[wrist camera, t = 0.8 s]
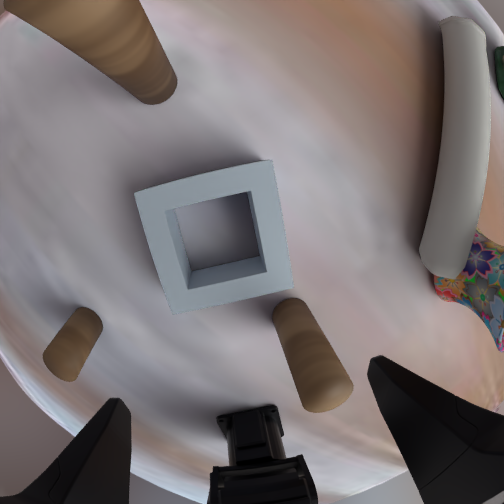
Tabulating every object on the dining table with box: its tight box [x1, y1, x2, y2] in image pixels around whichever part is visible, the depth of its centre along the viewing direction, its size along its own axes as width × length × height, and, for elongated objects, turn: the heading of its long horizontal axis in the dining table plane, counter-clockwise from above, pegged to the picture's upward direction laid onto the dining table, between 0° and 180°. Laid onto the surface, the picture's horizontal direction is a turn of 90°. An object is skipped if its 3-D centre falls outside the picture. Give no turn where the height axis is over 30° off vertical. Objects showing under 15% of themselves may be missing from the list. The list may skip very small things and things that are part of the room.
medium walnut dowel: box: [272, 298, 353, 413], centre depth 17 cm, size 3×3×9 cm
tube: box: [419, 16, 491, 279], centre depth 16 cm, size 5×5×25 cm
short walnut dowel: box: [43, 307, 103, 382], centre depth 17 cm, size 3×3×6 cm
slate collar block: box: [134, 160, 294, 315], centre depth 17 cm, size 8×8×3 cm
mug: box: [434, 228, 504, 352], centre depth 17 cm, size 12×9×11 cm
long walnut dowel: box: [4, 0, 177, 105], centre depth 8 cm, size 3×3×14 cm
